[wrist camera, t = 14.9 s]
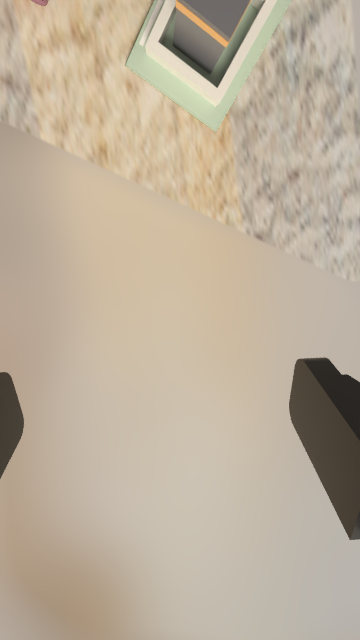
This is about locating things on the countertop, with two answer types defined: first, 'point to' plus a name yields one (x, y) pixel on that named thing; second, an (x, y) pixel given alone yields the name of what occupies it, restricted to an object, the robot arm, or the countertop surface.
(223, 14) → the plug
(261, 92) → the countertop surface
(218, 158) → the countertop surface
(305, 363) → the robot arm
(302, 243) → the countertop surface
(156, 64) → the board
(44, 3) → the video game controller
